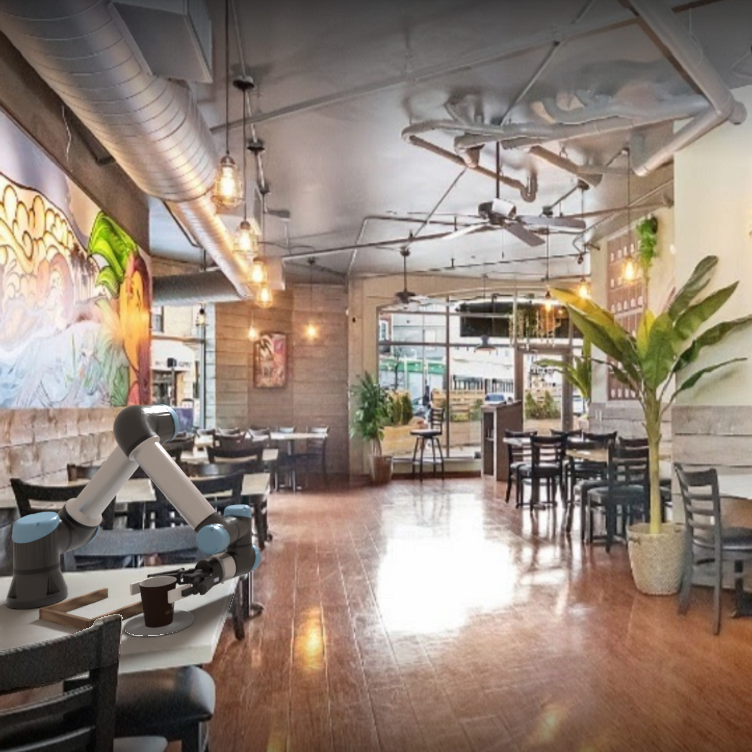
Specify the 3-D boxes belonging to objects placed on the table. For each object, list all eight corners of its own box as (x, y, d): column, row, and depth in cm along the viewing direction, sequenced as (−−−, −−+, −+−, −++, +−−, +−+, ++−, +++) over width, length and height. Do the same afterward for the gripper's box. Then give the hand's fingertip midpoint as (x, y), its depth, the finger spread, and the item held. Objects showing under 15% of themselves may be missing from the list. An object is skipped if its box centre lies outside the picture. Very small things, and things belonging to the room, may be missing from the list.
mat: (129, 617, 162) (129, 614, 162) (194, 610, 165) (194, 606, 165) (119, 640, 146) (119, 637, 146) (192, 632, 150) (192, 628, 150)
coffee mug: (159, 631, 149) (158, 588, 149) (132, 626, 153) (131, 584, 153) (193, 614, 159) (192, 574, 160) (167, 610, 163) (166, 571, 163)
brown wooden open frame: (105, 596, 179) (105, 587, 179) (154, 607, 169) (154, 597, 169) (39, 618, 163) (39, 608, 163) (89, 631, 152) (89, 621, 152)
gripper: (249, 590, 165) (186, 617, 147) (182, 578, 178) (116, 601, 160) (248, 561, 165) (185, 584, 147) (181, 551, 178) (115, 571, 160)
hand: (149, 593), depth 153 cm, fingers open, 13 cm apart
